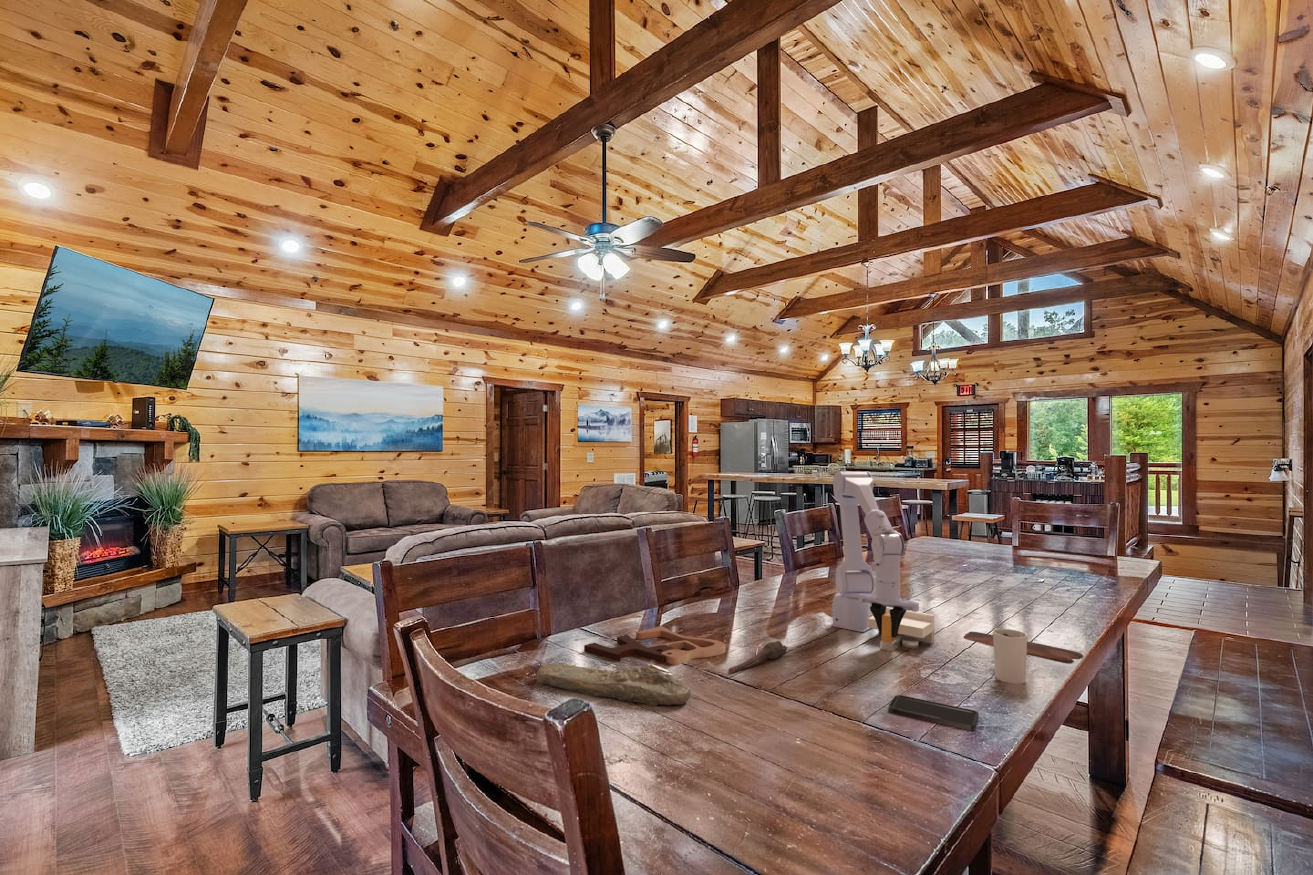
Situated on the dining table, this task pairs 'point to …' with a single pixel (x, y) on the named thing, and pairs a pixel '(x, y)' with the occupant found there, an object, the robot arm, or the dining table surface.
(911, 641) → the disc
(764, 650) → the natural artifact
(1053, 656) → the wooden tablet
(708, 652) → the wood carving
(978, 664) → the dining table surface
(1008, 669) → the white cup
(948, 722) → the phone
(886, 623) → the blade tool
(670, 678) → the elongated rock
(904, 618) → the cream shelf
